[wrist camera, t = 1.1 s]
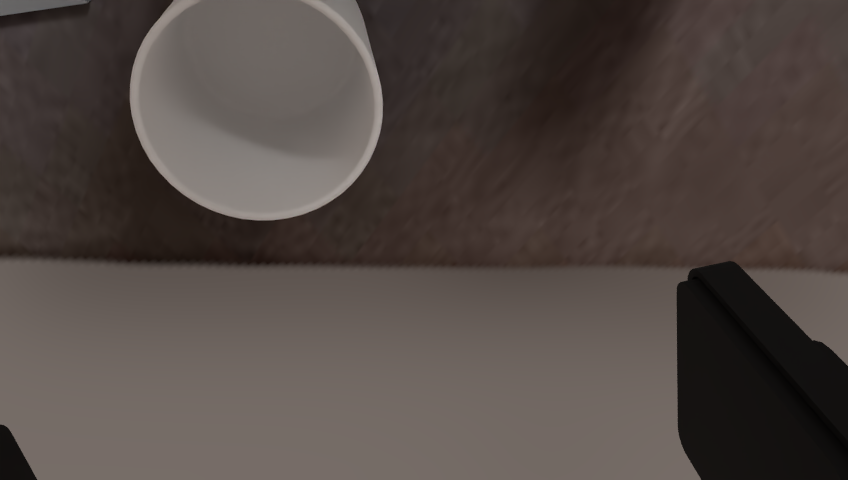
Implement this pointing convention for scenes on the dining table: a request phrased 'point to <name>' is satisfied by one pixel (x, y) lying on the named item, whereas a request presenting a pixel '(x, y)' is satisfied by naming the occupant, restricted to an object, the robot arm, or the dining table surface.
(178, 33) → the mug
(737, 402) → the robot arm
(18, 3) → the mat
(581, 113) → the dining table surface
